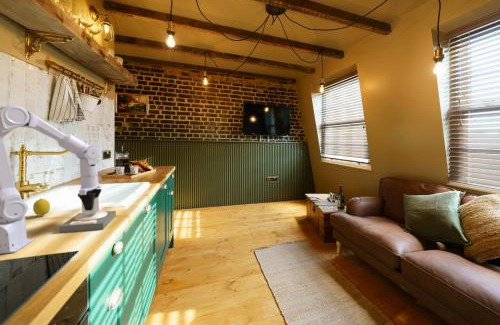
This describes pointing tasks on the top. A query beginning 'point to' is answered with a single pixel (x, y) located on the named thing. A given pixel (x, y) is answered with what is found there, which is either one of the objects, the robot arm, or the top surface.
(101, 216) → the scale
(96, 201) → the block
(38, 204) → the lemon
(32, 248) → the top surface
